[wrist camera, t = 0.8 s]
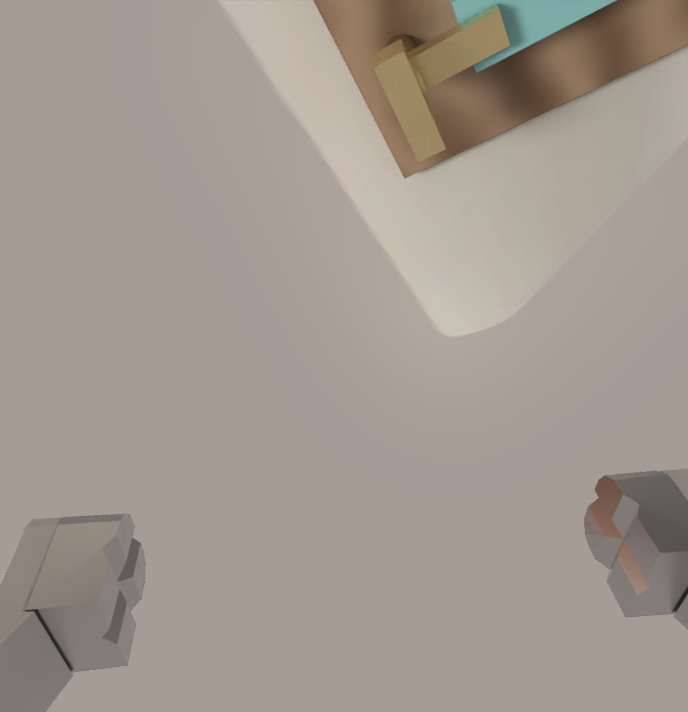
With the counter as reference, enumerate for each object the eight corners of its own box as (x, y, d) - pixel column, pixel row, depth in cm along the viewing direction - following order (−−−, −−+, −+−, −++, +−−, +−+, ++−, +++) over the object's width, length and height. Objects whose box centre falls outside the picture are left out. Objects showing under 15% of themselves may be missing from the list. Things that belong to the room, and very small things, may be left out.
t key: (474, -51, 38) (503, -5, 31) (504, 47, 42) (535, 106, 36) (364, 14, 41) (370, 69, 34) (404, 100, 45) (415, 163, 39)
